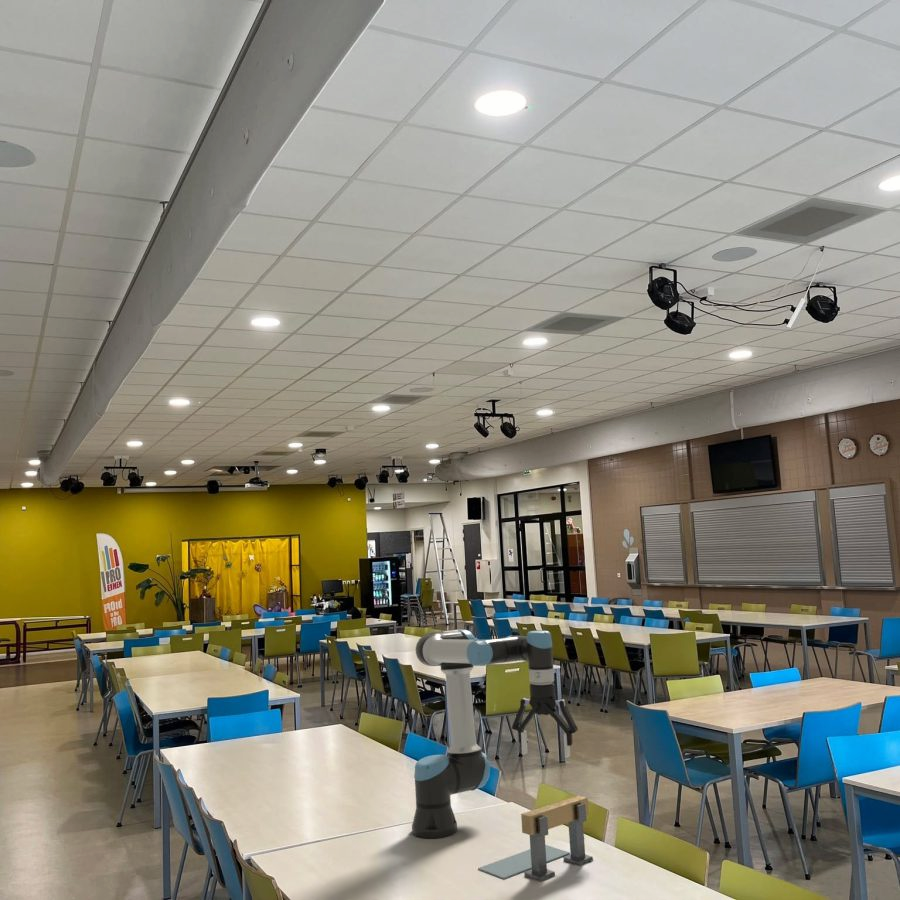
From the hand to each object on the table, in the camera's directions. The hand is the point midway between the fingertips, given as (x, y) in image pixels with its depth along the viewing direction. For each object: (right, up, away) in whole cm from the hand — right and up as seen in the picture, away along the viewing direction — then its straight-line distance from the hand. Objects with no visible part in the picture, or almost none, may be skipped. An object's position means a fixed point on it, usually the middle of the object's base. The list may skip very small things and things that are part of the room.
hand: (546, 755), depth 246 cm
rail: (+2, -16, -11) cm, 19 cm away
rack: (+2, -28, -12) cm, 30 cm away
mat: (-7, -29, -6) cm, 30 cm away
